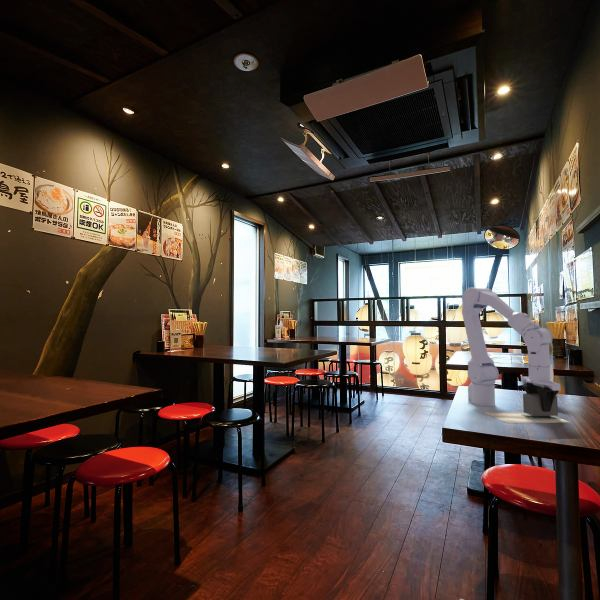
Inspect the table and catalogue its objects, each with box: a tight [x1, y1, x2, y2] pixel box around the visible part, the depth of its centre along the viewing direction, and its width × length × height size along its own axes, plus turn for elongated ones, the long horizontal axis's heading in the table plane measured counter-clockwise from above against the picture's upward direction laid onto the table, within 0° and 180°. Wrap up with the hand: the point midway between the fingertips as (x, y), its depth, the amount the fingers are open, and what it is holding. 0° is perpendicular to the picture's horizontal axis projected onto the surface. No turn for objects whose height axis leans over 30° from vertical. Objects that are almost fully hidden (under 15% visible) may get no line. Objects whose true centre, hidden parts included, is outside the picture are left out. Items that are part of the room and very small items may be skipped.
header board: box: [485, 411, 570, 424], centre depth 112 cm, size 12×20×4 cm, turn 93°
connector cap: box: [522, 392, 559, 417], centre depth 113 cm, size 4×8×6 cm, turn 93°
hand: (540, 409), depth 113 cm, fingers closed on connector cap, 4 cm apart
